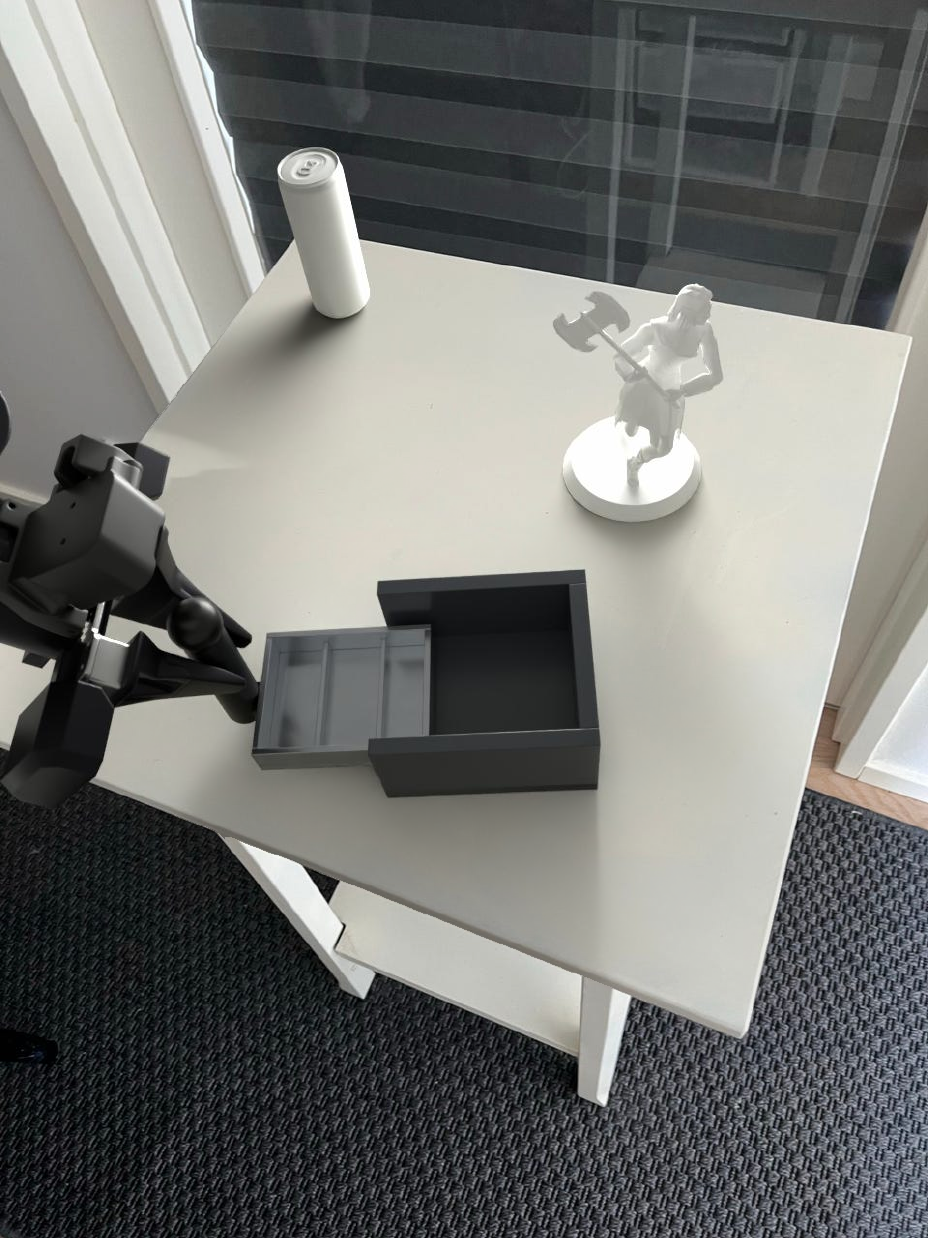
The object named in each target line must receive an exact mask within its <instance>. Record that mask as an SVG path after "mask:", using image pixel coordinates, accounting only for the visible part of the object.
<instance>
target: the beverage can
mask: <svg viewBox="0 0 928 1238" xmlns="http://www.w3.org/2000/svg"><path fill="white" fill-rule="evenodd" d="M276 172H277V177H278V178H277V182H278V188H279V191H280V194H281V197H282V202H283V205H284V209H285V211H286V214H287V217H288V218H287V219H288V222H289V226H290V228H291V231H292V235H293V238H294V242H295V245H296V249H297V252H298V255H299V258H300V262H301V265H302V270H303V272H304V276H305V280H306V283H307V286H308V287H307V288H308V290H309V293H310V298H311V301H312V304H313V307H314V308H315V310H316V311H317V312H319V313H320V314H321V315H323V316H325V317H327V318H330V319H344V318H348V317H349V318H350V317H351V316H353V315H355V314H357V313H358V312H360V311H361V310H362V309H363V308H364V307H365V306H366V305H367V303H368V301H369V299H370V296H371V295H370V294H371V291H370V290H371V289H370V285H369V281H368V277H367V273H366V268H365V267H366V266H365V262H364V258H363V254H362V249H361V244H360V240H359V235H358V231H357V226H356V221H355V216H354V212H353V208H352V204H351V199H350V195H349V190H348V185H347V181H346V175H345V172H344V168H343V165H342V163H341V161H340V158H339V156H338V155H337V153H336V152H335V151H332V150H331V149H329V148H325V147H316V146H315V147H306V148H301V149H298V150H295V151H293V152H291V153H289V154H288V155H286V156H285V157H284V158H283V159H282V160H281V161H280V162H279V164H278V165H277V169H276Z"/></svg>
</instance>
